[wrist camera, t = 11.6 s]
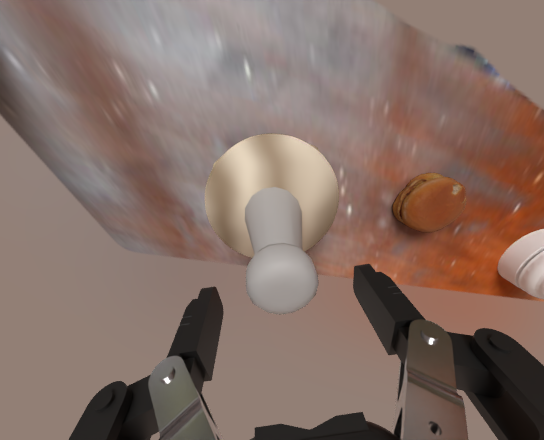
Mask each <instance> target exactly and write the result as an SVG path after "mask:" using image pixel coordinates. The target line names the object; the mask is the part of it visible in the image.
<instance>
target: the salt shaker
mask: <svg viewBox="0 0 544 440" xmlns="http://www.w3.org/2000/svg"><path fill="white" fill-rule="evenodd" d="M245 223H246V226H247V230H248V233H249V237H250V241H251V244H252V248H253V251H254V256H253V258H252V259H251V261H250V262H249V264H248V265H247V271H246V289H247V294H248V296H249V297H250V299H251V301H252V303H253V304H254V305H256V306H258V307H260V308H261V309H263V310H265V311H266V312H269V313H275V314H286V313H292V312H295V311H297V310H299V309H301V308H303V307H305V306H306V305H307V304H308V303H309V302H310V301H311V299H312V298H313V297H314V296H315V295H316V291H317V287H318V275H317V272H316V269H315V267H314V264H313V262H312V260H311V258H310V256H309V255H307V254H306V253H305V252H304V251H303V248H302V210H301V208H300V205H299V202H298V200H297V199H296V198H295V197H294V196H293V195H292V194H291V193H290V192H289V191H288V190H284V189H281V188H277V187H271V188H264V189H261V190H260V191H258V192H257V193H255V194H254V195H252V197H251V198H250V200H249V202H248V204H247V205H246V207H245Z"/></svg>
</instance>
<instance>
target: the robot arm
mask: <svg viewBox="0 0 544 440" xmlns="http://www.w3.org/2000/svg"><path fill="white" fill-rule="evenodd" d="M353 281H354V282H353V288H354V293H355V295H356V297H357V299H358V301H359V303H360V305H361V306H362V308H363V310H364V312H365V314H366V315H367V317H368V319H369V321H370V323H371V324H372V326H373V328H374V330H375V331H376V333H377V335H378V337H379V339H380V341H381V342H382V344H383V346H384V348H385V350H386V351H387V353H388V355H394V354H397V355H398V357H399V358H400V360H401V362H400V369H399V379H398V389H397V398H396V407H395V413H394V419H393V426H392V433H391V432H390V431H388V430H387V429H385V428H383V427H381V426H379V425H377V424H374V423H371V422H368V421H366V420H365V418H364V415H363V412H359V413H352V414H346V415H339V416H335V417H333V418H331V419H329V420H328V421H326V422H324V423H323V424H320V425H319V426H317V427H315V428H313V429H310V430H308V429H302V428H298V427H294V426H289V425H284V424H277V425H270V426H263V427H256V428H255V437H254V438H252V439H250V440H468V432H467V424H466V415H465V407H464V402H463V399H462V397H461V396H459V395H458V394H457V389H459V390H463V391H464V392H465V393H466V394H467V396H468V397H469V399H470V400H471V402H472V403H473V404H474V406H475V407H476V409H477V410H478V411H479V413H480V414H481V416H482V417H483V418H484V420H485V421H486V423H487V424H488V425H489V427H490V428H491V430H492V431H493V433H494V434H495V436H496V437H497V438H498V440H544V366H543V365H542V364H541V363H540V362H539V361H538V360H537V359H536V358H534V357H533V356H532V355H531V354H530V353H529V352H528V351H527V350H526V349H525V348H523V347H522V346H521V345H520V344H519V343H518V342H516V341H515V340H514V339H512V338H511V337H509V336H508V335H506V334H504V333H502V332H499V331H496V330H493V329H487V328H482V329H478V330H477V331H476V332H475V333H474V335H473V336H470V335H464V334H457V333H451V332H446V331H445V330H444V329H443V328H442V327H440V326H439V325H437V324H435V323H433V322H431V321H427V320H425V318H424V317H423V316H422V315H421V314H420V313H419V312H418V310H417V309H416V308H415V307H414V306H413V304H412V303H411V302H410V301H409V300H408V298H407V297H406V296H405V295H404V294H403V293H402V291H401V290H400V289H399V288H398V287H397V286H396V284H395V283H394V282H393V281H392V279H391V278H390V277H388V276H387V275H385V274H384V273H382V272H375V270H374V269H373V268H372V266H371V265H370V264H365V265H358V266H355V267H354V280H353ZM222 319H223V305H222V302H221V299H220V297H219V294H218V291H217V289H216V287H210V288H202V289H201V291H200V294H199V296H198V299H193V300H192V301H191V302H190V304H189V305H188V306H187V307H186V310H185V312H184V315H183V318H182V320H181V322H180V326H179V328H178V330H177V333H176V335H175V338H174V341H173V343H172V346H171V348H170V351H169V354H168V356H167V358H166V359H164V360H163V361H162V362H160V363H159V364H158V365H157V366H156V367H155V369H154V370H153V372H152V374H151V375H149V376H148V377H145V378H143V379H141V380H139V381H137V382H135V383H133V384H131V385H129V386H127V385H126V384H125V383H124V382H122V381H116V382H113V383H111V384H109V385H107V386H105V387H104V388H103V389H101V391H99V392H98V393H97V394H96V395H95V396H94V397H93V399H92V400H91V401H90V403H89V404H88V406H87V408H86V410H85V411H84V413H83V415H82V417H81V418H80V420H79V422H78V424H77V426H76V427H75V429H74V431H73V433H72V434H71V436H70V438H69V440H150V438H151V435H153V434H155V433H157V432H160V439H159V440H224V439H223V437H222V435H221V433H220V431H219V429H218V427H217V425H216V422H215V420H214V418H213V416H212V414H211V411H210V409H209V407H208V405H207V403H206V400H205V398H204V396H203V394H202V387H203V382H204V381H211V380H212V375H213V369H214V363H215V358H216V352H217V347H218V341H219V336H220V330H221V325H222Z"/></svg>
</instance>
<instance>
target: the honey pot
mask: <svg viewBox="0 0 544 440" xmlns="http://www.w3.org/2000/svg"><path fill="white" fill-rule="evenodd" d="M497 269H498V272H499V274H500V275H501V276H502V277H503V278H504V279H506V280H508V281H509V282H511V283H512V284H514V285H515V286H517V287H518V288H521V289H522V290H523V291H526V292H527V293H528V294H530V295H532V296H534V297H537V298H540V299H544V229H541V230H538V231H534V232H532V233H530V234H528V235H525V236H523V237H522V238H520V239H519V240H517V241H516V242H514V243H513V244H512V245H511V246H510V247H509V248H508V249H507V250H506V251H505V252H504V254H503V255H502V256H501V258H500V260H499V263H498V268H497Z"/></svg>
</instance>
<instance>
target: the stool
mask: <svg viewBox="0 0 544 440" xmlns="http://www.w3.org/2000/svg"><path fill="white" fill-rule="evenodd" d="M271 187H277V188H281V189H284V190H288V191H289V192H290V193H291V194H292V195H293V196H294V197H295V198H296V199H297V200H298V202H299V205H300V208H301V210H302V248H303V251H304V252H305V251H306V250H308V249H310V248H311V247H313V246H314V245H315V244H316V243H317V242H319V241H320V240H321V239H322V237H323V236H324V235H325V234H326V233H327V231H328V230H329V228H330V227H331V225H332V223H333V221H334V218H335V215H336V213H337V208H338V202H339V190H338V184H337V179H336V177H335V174H334V171H333V170H332V168H331V166H330V164H329V163H328V161H327V160H326V159H325V157H324V156H323V155H322V154H321V153H320V152H319V150H318V148H316V147H315V146H312V145H310V144H308V143H306V142H304V141H302V140H300V139H297V138H295V137H292V136H288V135H284V134H273V133H270V134H261V135H256V136H252V137H250V138H247V139H245V140H243V141H241V142H239V143H237V144H236V145H234V146H233V147H232V148H230V149H229V150H228V151H227V152H226V153H225V154H224V155H223V156H222V157H221V158H219V159H218V160H217V161H216V162H215V163H214V165H213V169H212V171H211V173H210V175H209V178H208V181H207V184H206V190H205V208H206V213H207V217H208V219H209V222H210V224H211V226H212V228H213V230H214V231H215V233H216V234H217V235H218V237H219V238H220V239H221V240H222V241H223V242H224V243H225V244H226V245H228V246H229V247H230V248H232V249H233V250H235V251H236V252H238V253H240V254H242V255H245V256H248V257H250V258H253V256H254V251H253V248H252V244H251V241H250V237H249V233H248V230H247V226H246V223H245V207H246V205H247V204H248V202H249V200H250V198H251V197H252V195H254V194H255V193H257V192H258V191H260V190H261V189H264V188H271Z"/></svg>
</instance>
